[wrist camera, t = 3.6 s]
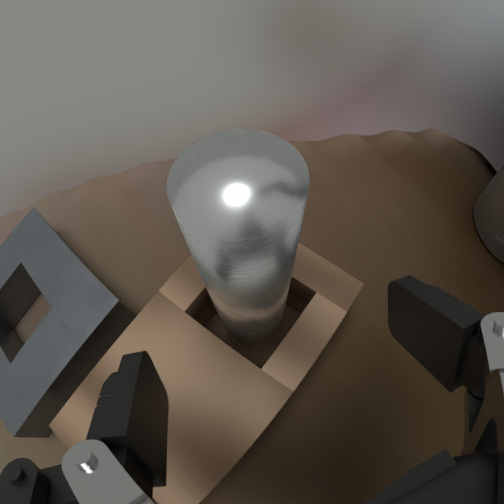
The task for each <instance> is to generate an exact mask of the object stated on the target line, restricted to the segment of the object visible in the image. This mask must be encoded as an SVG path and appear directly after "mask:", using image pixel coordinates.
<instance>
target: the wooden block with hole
mask: <svg viewBox="0 0 504 504" xmlns="http://www.w3.org/2000/svg"><path fill="white" fill-rule="evenodd" d="M363 285H364V283H362V282H361V281H359V280H357V279H356V278H354V277H353V276H351V275H350V274H348V273H346V272H345V271H343V270H342V269H340V268H338V267H337V266H335V265H334V264H332V263H330V262H329V261H327V260H326V259H324V258H322V257H321V256H319V255H318V254H316V253H314V252H313V251H311V250H310V249H308V248H306V247H305V246H303V245H301V244H300V243H298V247H297V252H296V257H295V262H294V267H293V272H292V277H291V281H290V286H289V291H288V295H287V300H286V303H287V304H289V305H290V306H292V307H293V308H295V309H296V310H298V311H299V312H301V313H302V314H301V315H300V317H299V318H298V320H297V321H296V323H295V324H294V325H293V327H292V328H291V330H290V331H289V332H288V334H287V335H286V336H285V338H284V339H283V341H282V342H281V343H280V345H279V346H278V347H277V349H276V350H275V351H274V353H273V354H272V355H271V357H270V358H269V359H268V361H267V362H266V363H265V365H264V366H263V367H262V369H260V368H259V367H257V366H256V365H254V364H253V363H252V362H250V361H249V360H247V359H246V358H245V357H243V356H242V355H241V354H239V353H238V352H236V351H235V350H234V349H232V348H231V347H230V346H228V345H227V344H226V343H224V342H223V341H222V340H220V339H219V338H218V337H216V336H215V335H214V334H212V333H211V332H210V331H208V330H207V329H206V328H205V327H204V326H205V324H206V323H207V322H208V321H209V320H210V318H211V317H212V316H213V315H214V314H215V312H216V311H217V310H216V308H215V306H214V304H213V302H212V299H211V297H210V295H209V293H208V291H207V288H206V286H205V284H204V282H203V279H202V277H201V275H200V273H199V270H198V268H197V266H196V263H195V261H194V259H193V256H192V254H191V255H190V256H189V257H188V258H187V259H186V260H185V261H184V262H183V264H182V265H181V266H180V267H179V268H178V269H177V270H176V271H175V273H174V274H173V275H172V276H171V277H170V278H169V279H168V281H167V282H166V283H165V284H164V285H163V286H162V287H161V289H160V290H159V291H158V292H157V293H156V294H155V295H154V297H153V298H152V299H151V300H150V301H149V302H148V304H147V305H146V306H145V307H144V308H143V309H142V311H141V312H140V313H139V314H138V315H137V316H136V318H135V319H134V320H133V321H132V322H131V323H130V325H129V326H128V327H127V328H126V329H125V331H124V332H123V333H122V334H121V335H120V337H119V338H118V339H117V340H116V341H115V343H114V344H113V345H112V346H111V347H110V349H109V350H108V351H107V352H106V353H105V355H104V356H103V357H102V358H101V360H100V361H99V362H98V363H97V365H96V366H95V367H94V368H93V369H92V371H91V372H90V373H89V374H88V376H87V377H86V378H85V379H84V381H83V382H82V383H81V384H80V386H79V387H78V388H77V390H76V391H75V392H74V393H73V395H72V396H71V397H70V398H69V400H68V401H67V402H66V404H65V405H64V406H63V408H62V409H61V410H60V411H59V413H58V414H57V415H56V417H55V418H54V419H53V421H52V422H51V423H50V425H49V427H50V428H51V429H52V430H53V432H54V433H55V434H56V435H57V437H58V438H59V439H60V440H61V442H62V443H63V444H64V445H65V446H66V447H67V449H68V450H69V449H70V448H71V447H72V446H73V445H75V444H77V443H79V442H81V441H84V440H86V437H87V433H88V430H89V427H90V423H91V420H92V417H93V413H94V410H95V407H97V405H96V404H97V401H98V398H99V397H100V396H99V394H100V391H101V388H102V385H103V383H104V382H105V381H106V379H107V378H108V377H109V376H110V375H111V373H113V372H117V371H118V368H119V365H120V362H121V359H122V356H123V355H125V354H130V353H135V352H140V351H147V352H148V354H149V355H150V357H151V359H152V362H153V364H154V366H155V368H156V370H157V372H158V374H159V376H160V379H161V381H162V383H163V385H164V387H165V389H166V392H167V395H168V401H169V413H168V436H167V479H166V486H164V487H153V498H154V499H155V500H156V502H157V503H158V504H199V503H200V502H201V501H202V500H203V499H204V498H205V497H206V496H207V495H208V494H209V493H210V492H211V491H212V490H213V488H214V487H215V486H216V485H217V484H218V483H219V482H220V481H221V480H222V479H223V478H224V476H225V475H226V474H227V473H228V472H229V471H230V470H231V469H232V468H233V466H234V465H235V464H236V463H237V462H238V461H239V460H240V458H241V457H242V456H243V455H244V454H245V453H246V451H247V450H248V449H249V448H250V447H251V445H252V444H253V443H254V442H255V441H256V439H257V438H258V437H259V436H260V434H261V433H262V432H263V431H264V429H265V428H266V427H267V426H268V424H269V423H270V422H271V421H272V419H273V418H274V417H275V416H276V414H277V413H278V412H279V410H280V409H281V408H282V406H283V405H284V404H285V402H286V401H287V400H288V398H289V397H290V396H291V394H292V393H293V392H294V390H295V389H296V388H297V386H298V385H299V383H300V382H301V381H302V379H303V378H304V376H305V375H306V374H307V372H308V371H309V369H310V368H311V366H312V365H313V363H314V362H315V361H316V359H317V358H318V356H319V355H320V353H321V352H322V350H323V349H324V347H325V346H326V344H327V343H328V341H329V340H330V338H331V337H332V335H333V334H334V332H335V330H336V329H337V327H338V326H339V324H340V323H341V321H342V319H343V318H344V316H345V315H346V313H347V311H348V310H349V308H350V306H351V305H352V303H353V301H354V300H355V298H356V296H357V295H358V293H359V291H360V290H361V288H362V286H363Z"/></svg>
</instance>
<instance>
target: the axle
mask: <svg viewBox="0 0 504 504" xmlns="http://www.w3.org/2000/svg"><path fill="white" fill-rule="evenodd" d="M309 181H310V179H309V171H308V167H307V165H306V162H305V160H304V159H303V157H302V156H301V154H300V153H299V152H298V151H297V149H296V148H294V147H293V146H292V145H291V144H290V143H288V142H287V141H285V140H284V139H282V138H280V137H278V136H276V135H273V134H271V133H267V132H264V131H259V130H253V129H233V130H225V131H220V132H217V133H213V134H211V135H208V136H206V137H203V138H201V139H199V140H198V141H196V142H194V143H193V144H191V145H190V146H189V147H187V148H186V149H185V150H184V151H183V152H182V153H181V154H180V155H179V156H178V158H177V159H176V160H175V162H174V163H173V165H172V167H171V169H170V172H169V175H168V179H167V194H168V198H169V201H170V204H171V206H172V209H173V211H174V213H175V216H176V218H177V221H178V223H179V226H180V228H181V230H182V233H183V235H184V238H185V240H186V242H187V245H188V247H189V249H190V252H191V254H192V256H193V259H194V261H195V263H196V266H197V268H198V270H199V273H200V275H201V277H202V279H203V282H204V284H205V286H206V288H207V291H208V293H209V295H210V297H211V299H212V302H213V304H214V306H215V308H216V310H217V313H218V315H219V317H220V319H221V321H222V323H223V325H224V328H225V330H226V332H227V334H228V336H229V338H230V339H231V341H232V342H233V343H234V344H235V345H236V346H238V347H240V348H242V349H245V350H249V351H257V350H261V349H264V348H266V347H268V346H269V345H271V344H272V343H273V342H274V341H275V339H276V338H277V336H278V334H279V331H280V327H281V322H282V318H283V313H284V309H285V304H286V300H287V295H288V291H289V286H290V281H291V277H292V272H293V267H294V262H295V257H296V252H297V247H298V242H299V237H300V232H301V227H302V222H303V216H304V211H305V206H306V200H307V195H308V189H309Z"/></svg>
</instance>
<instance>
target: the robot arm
mask: <svg viewBox="0 0 504 504" xmlns="http://www.w3.org/2000/svg"><path fill="white" fill-rule="evenodd" d="M473 216H474V222H475V225H476V228H477V231H478V233H479V235H480V237H481V239H482V241H483V243H484V244H485V246H486V247H487V248H488V250H489V251H490V252H491V253H492V254H493V255H494V256H495V257H496V258H497V259H498V260H499V261H501V262H502V263H504V164H503V165H502V167H501V168H500V170H499V171H498V172H497V174H496V175H495V176H494V178H493V179H492V180H491V182H490V183H489V184H488V186H487V187H486V188H485V190H484V191H483V192H482V194H481V195H480V196H479V198H478V199H477V200H476V202H475V204H474V208H473ZM388 324H389V329H390V332H391V334H392V336H393V337H394V338H395V339H396V340H397V341H398V342H399V343H400V344H401V345H402V346H403V347H404V348H405V349H406V350H407V351H408V352H409V353H410V354H411V355H412V356H413V357H415V358H416V359H417V360H418V361H419V362H420V363H421V364H422V365H423V366H424V367H425V368H426V369H427V370H428V371H429V372H430V373H431V374H432V375H433V376H434V377H435V378H436V379H437V380H438V381H439V382H440V383H441V384H442V385H443V386H444V387H445V388H446V389H447V390H448V391H449V392H450V393H451V392H452V391H454V390H455V389H457V388H459V387H460V386H462V385H464V386H465V387H466V390H465V393H464V409H465V434H464V446H463V450H462V453H461V456H457V457H452V456H451V455H450V454H449V452H448V451H447V450H446V449H445V450H443V451H442V452H440V453H438V454H437V455H435V456H433V457H432V458H430V459H428V460H426V461H425V462H423V463H421V464H419V465H418V466H416V467H414V468H412V469H410V470H408V471H407V472H406V473H404V474H403V475H402V476H401V477H400V478H398V479H397V480H396V481H395V482H393V483H392V484H391V485H390V486H388V487H387V488H386V489H384V490H383V491H382V492H380V493H379V494H378V495H376V496H375V497H374V498H372V499H371V500H369V501H367V502H365V503H362V504H504V312H495V313H491V314H488V315H487V316H485V315H483V314H481V313H480V312H478V311H477V310H475V309H473V308H472V307H470V306H469V305H467V304H465V303H464V302H462V301H460V300H457V298H455V297H454V296H452V295H449V293H447V292H445V291H444V290H442V289H440V288H439V287H435V286H431V285H427V284H424V283H423V282H421V281H419V280H418V279H416V278H414V277H413V276H410V275H408V276H405V277H403V278H400V279H397V280H394V281H392V282H390V283H389V285H388ZM99 396H100V397H99V398H98V401H97V404H96V405H97V407H95V410H94V413H93V417H92V420H91V423H90V427H89V430H88V433H87V437H86V440H84V441H81V442H79V443H77V444H75V445H73V446H72V447H71V448H70V449H69V450H68V451H67V452H66V454H65V455H64V457H63V460H62V464H60V465H57V466H53V467H49V468H45V469H41V470H40V469H39V468H38V467H37V466H36V465H35V464H34V463H33V462H32V461H31V460H29V459H27V458H19V459H15V460H13V461H11V462H10V463H9V464H8V465H6V467H5V468H4V469H3V471H2V473H1V475H0V504H158V503H157V502H156V500H155V499H154V498H153V487H164V486H166V479H167V436H168V413H169V401H168V395H167V392H166V389H165V387H164V385H163V383H162V381H161V379H160V376H159V374H158V372H157V370H156V368H155V366H154V364H153V362H152V359H151V357H150V355H149V354H148V352H147V351H140V352H135V353H130V354H125V355H123V356H122V359H121V362H120V365H119V368H118V371H117V372H113V373H111V375H110V376H109V377H108V378H107V379H106V381H105V382H104V383H103V385H102V388H101V391H100V394H99Z"/></svg>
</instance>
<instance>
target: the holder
mask: <svg viewBox="0 0 504 504" xmlns="http://www.w3.org/2000/svg"><path fill="white" fill-rule="evenodd" d="M41 293H42V294H43V295H44V297H45V298H46V299H47V301H48V302H49V304H50V305H51V306H52V308H51V310H50V311H49V312H48V314H47V315H46V316H45V317H44V319H43V320H42V321H41V323H40V324H39V325H38V326H37V328H36V329H35V330H34V332H33V333H32V334H31V336H30V337H29V339H28V340H27V341H26V343H25V344H23V342H22V341H21V339H20V338H19V336H18V334H17V333H16V331H15V329H14V328H15V327H16V325H17V324H18V322H19V321H20V320H21V318H22V317H23V316H24V314H25V313H26V312H27V310H28V309H29V308H30V306H31V305H32V304H33V303H34V301H35V300H36V299H37V297H38V296H39V295H40V294H41ZM136 316H137V314H136V313H134V312H133V311H132V310H131V309H130V308H129V307H128V306H127V305H126V304H125V303H124V302H123V301H122V300H121V299H120V298H119V297H118V296H117V295H116V294H115V293H114V292H113V291H112V290H111V289H110V288H109V287H107V286H106V284H105V283H104V282H103V281H102V280H101V279H100V278H99V277H98V276H97V275H96V274H95V273H94V272H93V271H92V270H91V269H90V268H89V267H88V266H87V265H86V264H85V263H84V262H83V261H82V260H81V259H80V257H79V256H78V255H77V254H76V253H75V252H74V251H73V250H72V249H71V248H70V247H69V245H68V244H67V243H66V242H65V241H64V240H63V239H62V238H61V236H60V235H59V234H58V233H57V232H56V231H55V230H54V229H53V228H52V226H51V225H50V224H49V223H48V222H47V221H46V220H45V219H44V218H43V217H42V215H41V214H40V213H39V212H38V211H37V210H36V209H35V208H33V209H32V210H31V211H30V212H29V213H28V214H27V215H26V216H25V218H24V219H23V220H22V221H21V222H20V223H19V224H18V226H17V227H16V228H15V229H14V230H13V231H12V233H11V234H10V235H9V236H8V237H7V239H6V240H5V241H4V242H3V244H2V245H1V246H0V417H1V418H2V420H3V421H4V423H5V425H6V426H7V428H8V429H9V431H10V432H11V434H12V435H13V437H48V436H49V435H50V433H51V432H52V431H53V430H52V429H51V428H50V427H49V425H50V423H51V422H52V421H53V419H54V418H55V417H56V415H57V414H58V413H59V411H60V410H61V409H62V408H63V406H64V405H65V404H66V402H67V401H68V400H69V398H70V397H71V396H72V395H73V393H74V392H75V391H76V390H77V388H78V387H79V386H80V384H81V383H82V382H83V381H84V379H85V378H86V377H87V376H88V374H89V373H90V372H91V371H92V369H93V368H94V367H95V366H96V365H97V363H98V362H99V361H100V360H101V358H102V357H103V356H104V355H105V353H106V352H107V351H108V350H109V349H110V347H111V346H112V345H113V344H114V343H115V341H116V340H117V339H118V338H119V337H120V335H121V334H122V333H123V332H124V331H125V329H126V328H127V327H128V326H129V325H130V323H131V322H132V321H133V320H134V319H135V318H136Z"/></svg>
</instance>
